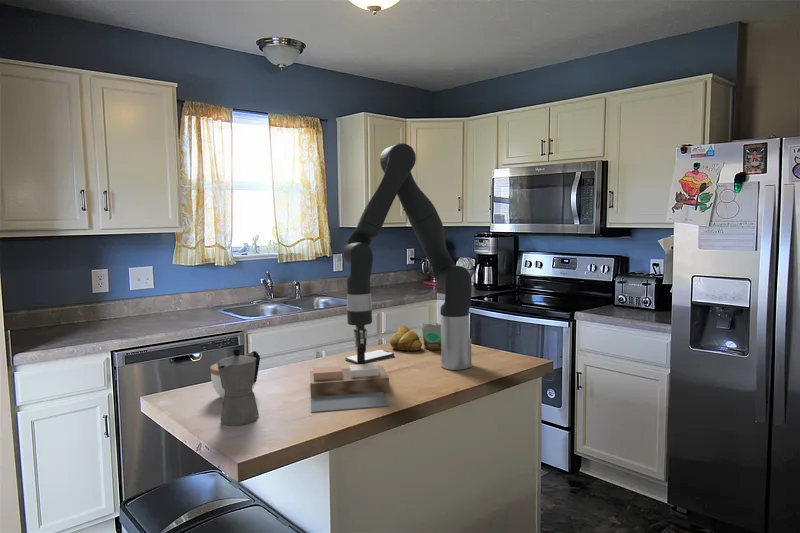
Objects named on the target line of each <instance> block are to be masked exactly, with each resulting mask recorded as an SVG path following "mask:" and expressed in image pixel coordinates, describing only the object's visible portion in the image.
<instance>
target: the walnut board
mask: <svg viewBox="0 0 800 533" xmlns="http://www.w3.org/2000/svg"><path fill="white" fill-rule="evenodd" d="M377 366H378V368H379V376H365V377H352V378H351V375H350V372H349V367H346V368H344V367H343V368H341V369H342V378H338V379H324V380H314V372H313V370H310V371H309V374H310V375H309V379H310V380H309V382H310V383H309V384H310V385H309V386H310V398H311V397H321V396H334V395H346V394H359V393H372V392H383V393H387V392H388V393H389V392H390V377H389V375H388V373H387V371H386V369H385V367H384V366H383V365H377Z"/></svg>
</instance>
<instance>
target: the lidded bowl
mask: <svg viewBox="0 0 800 533" xmlns="http://www.w3.org/2000/svg"><path fill="white" fill-rule="evenodd" d="M209 370H210V379H211V384H212V387H213V389H214V392H216V394H217V395H218V396H220V397H221V398H222V400H223V397H224V395H225V389H223V388H222V384H221V379H220V374H219V370H218V365H217V362H216V363H214V364H212V365H210V368H209ZM256 383H257V381H256V382H255V383H254V384H253V386H252V391H253V390H254V388H255V386H256Z"/></svg>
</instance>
